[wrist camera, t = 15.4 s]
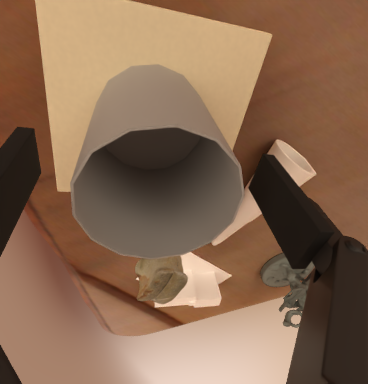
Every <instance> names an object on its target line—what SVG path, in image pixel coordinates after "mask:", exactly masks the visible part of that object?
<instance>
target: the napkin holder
mask: <svg viewBox="0 0 368 384" xmlns="http://www.w3.org/2000/svg"><path fill="white" fill-rule="evenodd" d="M181 258H182V266H183V272H184V273H185V274H186V275H187V277H188V281H187V284H186V285H185V287H184V288H183V289H182V290H181V291H180V292H179V293H178V295H177V296H176V297H175V298H174V299H173V300H172V301H170V302H168V303H166V304H159V303H156V302H155V307H165V306H178V305H189V306H193V305H194V308H195V307H207V306H219V304H220V301H221V295H220V291H219V287H218V284H220V283H221V282H223V281H224V280H226V279H227V278H229V277H231V276H232V275H230V274H228V273H226V272H225V271H223V270H221V269H219V268H218V267H216V266H214V265H212V264H210V263H209V262H207V261H205V260H203V259H202V258H200V257H198V256H196V255H194V254H193V253H191V252H189V253H187V254H184V255H181ZM136 280H139V278H136Z"/></svg>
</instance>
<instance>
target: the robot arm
mask: <svg viewBox="0 0 368 384" xmlns="http://www.w3.org/2000/svg"><path fill="white" fill-rule="evenodd" d="M40 174H41V168H40V162H39V156H38V150H37V143H36V137H35V131H34V129H33V128H24V127H17V128H16V129H15V130H14V132H13V133H12V134H11V135H10V137H9V138H8V139H7V140H6V142H5V143H4V144H3V145H2V147H1V148H0V256H1V254H2V252H3V250H4V248H5V246H6V244H7V242H8V240H9V238H10V236H11V234H12V232H13V230H14V228H15V226H16V224H17V221H18V219H19V217H20V215H21V213H22V211H23V209H24V207H25V205H26V203H27V201H28V199H29V197H30V195H31V193H32V191H33V189H34V186H35V184H36V182H37V180H38V178H39V176H40ZM248 189H249V190H250V192H251V194H252V196H253V198H254V200H255V201H256V203H257V205H258V207H259V209H260V211H261V212H262V214H263V216H264V218H265V220H266V222H267V224H268V225H269V227H270V229H271V231H272V233H273V235H274V236H275V238H276V240H277V242H278V244H279V246H280V247H281V249H282V251H283V253H284V255H285V257H286V258H287V260H288V262H289V264H290V266H291V268H292V269H306V268H307V267H308V265H309V264H310V263H311V262H312V263H313V264H314V266H315V268H314V269H313V271H312V272H311V273H310V274H309V276H308V277H307V278H306V279H305V282H307V281H308V280H310V282H309V286H308V291H307V295H306V299H305V304H304V308H303V312H302V317H301V321H300V325H299V330H298V334H297V338H296V343H295V348H294V352H293V356H292V360H291V365H290V369H289V373H288V378H287V382H286V384H368V251H367V249H366V248H365V246H364V245H363V244H361V243H360V242H359V241H357V240H356V239H354V238H351V237H349V236H343V235H342V233H341V232H340V231H339V230H338V229H337V227H336V226H335V225H334V224H333V222H332V221H331V220H330V219H329V218H328V216H327V215H326V214H325V213H324V212H323V210H322V209H321V208H320V206H319V205H318V204H317V203H315V202H314V201H313V200H312V199H310V198H308V197H307V196H306V195H305V194H304V192H303V191H302V190H301V188H300V187H299V186H298V185H297V183H296V182H295V181H294V180H293V178H292V177H291V176H290V175H289V173H288V172H287V171H286V170H285V168H284V167H283V166H282V165H281V163H280V162H279V161H278V160H277V158H276V157H275V156H274V155H270V154H263V155H262V157H261V160H260V162H259V164H258V166H257V169H256V171H255V173H254V176H253V178H252V180H251V182H250V185H249V187H248ZM0 384H22V383H21V381H20V379H19V378H18V376H17V374H16V372H15V370H14V369H13V367H12V365H11V363H10V362H9V360H8V358H7V356H6V355H5V353H4V351H3V349H2V347H1V345H0Z"/></svg>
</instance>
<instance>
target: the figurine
mask: <svg viewBox="0 0 368 384" xmlns="http://www.w3.org/2000/svg"><path fill="white" fill-rule="evenodd" d="M313 268H314V264H313V263H312V262H311V263H310V264H309V265H308V267H307V268H306V269H292V268H291V266H290V264H289V262H288V260H287V258H286V257H285V255H284V253H282V254H279V255H277V256H275V257H274V258H272V259H270V260H269V261H268V262H267V263H266V264H265V265H264V266H263V268H262V269H261V273H260V275H261V278H262V280H263V282H264V283H265V284H266V285H268V286H271V287H283V286H288V285H290V288H291V291H290V292H289V293H288V294H287V295H286V296H285V297H284V298H283V299H284V303H283V304H282V305H281V307H280V308H279V311H280V312H281V311H282V310H283V309H284V307H288V308H295V307H296V308H297V307H299V308H298V309H297V310H290V311H288V312H287V313H286V315H285V319H284V322H283V325H284V326H287V327H288V326H290V325H291V326H292V327H295V328H297V327H299V325H300V323H299V324H297V325H295V324H292V323H291V317H292V316H293V315H300V316H301V317H302V313H301V311H302V312H303V308H304V304H305V299H306V295H307V291H308V286H309V282H310V280H308V281H307V282H305V279H304V278H305V277H306V276H307V275H309V274H310V272H311V271H312V270H313ZM300 280H301V281H302V280H303V281H302V283H301V282H300ZM291 292H292V294H291V295H289V294H290V293H291ZM296 300H298V301H296Z"/></svg>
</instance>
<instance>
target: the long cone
mask: <svg viewBox="0 0 368 384" xmlns="http://www.w3.org/2000/svg"><path fill="white" fill-rule="evenodd" d="M267 154H270V155H274V156H275V157H276V158H277V160H278V161H279V162H280V163H281V165H282V166H283V167H284V168H285V170H286V171H287V172H288V173H289V175H290V176H291V177H292V178H293V180H294V181H295V182H296V183H297V185H298V186H301V185H302V184H304V183H305V182H306V181H308V180H309V179H311V178H312V177H313V176H315V175H316V172H315V171H314V169H313V168H312V167H311V165H310V164H309V163H308V161H307V160H306V159H305V158H304V157H303V156H301V155H300V154H299V153H298V152H297V151H296V150H295V149H293V148H292V147H291V146H290V145H288V144H287V143H285V142H283V141H281V140H278V139H277V140H276V141H275V142H274V144H273V145H272V147H271V149H270V150H269V152H268V153H267ZM253 176H254V175H253ZM253 176H252V178H253ZM252 178H251V180H252ZM251 180H250V181H249V183H248V184H247V186H246V187H245V189H244V193H245V196H244V198H243V201H242V203H241V205H240V208H239V210H238V212H237V215H236V217H235V219H234V222H233V223H232V224H231V225H230V226H229V227H227V228H226V229H225V230H224V231H223V232H222V233H221V234H220V235H219V236H218V237H217V238H216V239H214V240H213V241H212V245H217V244H219V243H221V242H222V241H224V240H225V239H226V238H228V237H229V236H231V235H232V234H233V233H235V232H236V231H237V230H239V229H240V228H241V227H243V226H244V225H245V224H247V223H248V222H251V221H253V220H254V219H255V218H257V217H258V216H259V215H261V214H262V212H261V211H260V209H259V207H258V205H257V203H256V201H255V200H254V198H253V196H252V194H251V192H250V190H249V189H248V187H249V185H250V182H251Z"/></svg>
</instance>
